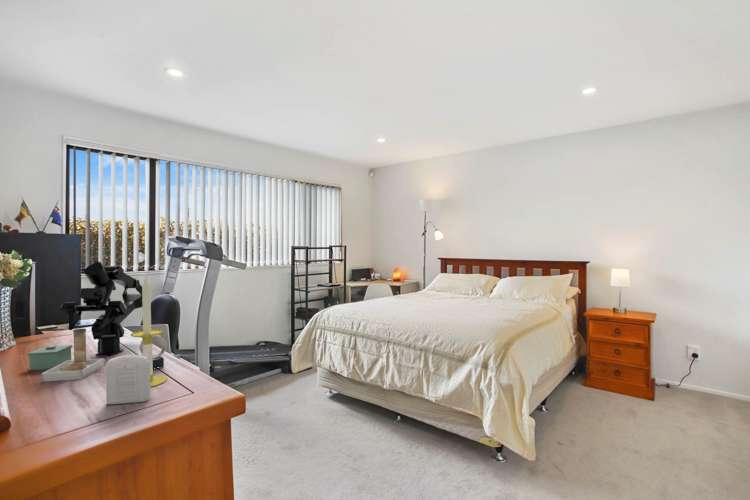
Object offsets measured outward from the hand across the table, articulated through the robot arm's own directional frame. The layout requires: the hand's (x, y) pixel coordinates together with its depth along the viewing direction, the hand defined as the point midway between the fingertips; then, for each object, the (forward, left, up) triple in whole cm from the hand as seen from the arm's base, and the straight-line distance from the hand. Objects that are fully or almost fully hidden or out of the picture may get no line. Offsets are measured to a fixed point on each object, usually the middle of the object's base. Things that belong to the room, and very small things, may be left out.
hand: (85, 328), depth 128 cm
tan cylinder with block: (-1, +5, -12) cm, 13 cm away
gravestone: (-36, +26, -13) cm, 46 cm away
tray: (-2, +6, -13) cm, 15 cm away
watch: (-24, -1, -13) cm, 27 cm away
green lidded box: (+14, -1, -13) cm, 19 cm away
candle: (-32, +13, -13) cm, 37 cm away
